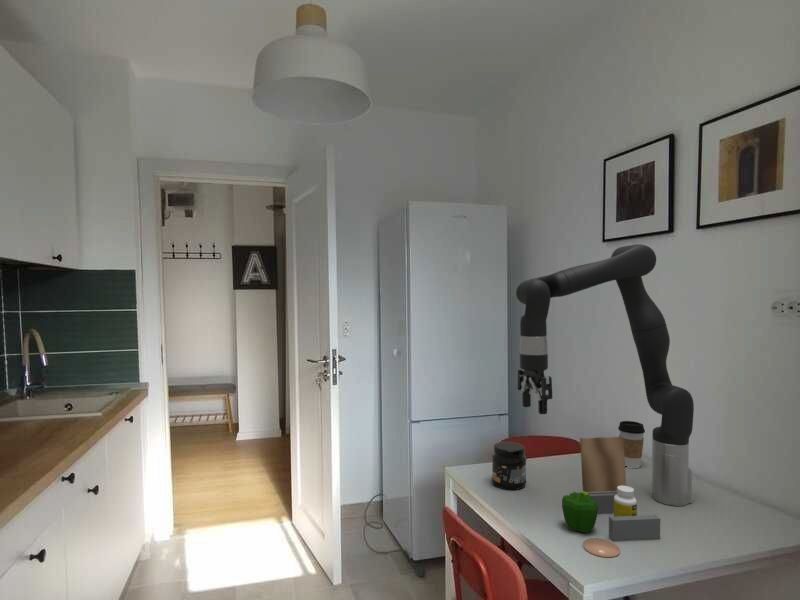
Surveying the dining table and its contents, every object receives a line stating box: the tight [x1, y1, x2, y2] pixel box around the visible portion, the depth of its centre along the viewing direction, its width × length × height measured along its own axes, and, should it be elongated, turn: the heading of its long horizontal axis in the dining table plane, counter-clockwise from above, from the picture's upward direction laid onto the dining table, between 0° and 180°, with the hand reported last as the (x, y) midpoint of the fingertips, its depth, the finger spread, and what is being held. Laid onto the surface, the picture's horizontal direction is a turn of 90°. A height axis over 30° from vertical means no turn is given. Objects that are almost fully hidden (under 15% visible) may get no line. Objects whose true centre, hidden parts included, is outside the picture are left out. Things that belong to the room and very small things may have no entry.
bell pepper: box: [561, 490, 598, 533], centre depth 124 cm, size 8×8×10 cm
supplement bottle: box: [613, 485, 638, 517], centre depth 125 cm, size 5×5×10 cm
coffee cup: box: [617, 420, 646, 469], centre depth 168 cm, size 8×8×15 cm
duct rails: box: [587, 491, 661, 542], centre depth 126 cm, size 12×16×5 cm
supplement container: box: [491, 441, 527, 491], centre depth 152 cm, size 10×10×12 cm
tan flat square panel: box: [579, 436, 627, 493], centre depth 134 cm, size 12×14×1 cm
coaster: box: [582, 537, 621, 559], centre depth 114 cm, size 8×8×1 cm
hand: (534, 410), depth 135 cm, fingers open, 8 cm apart
